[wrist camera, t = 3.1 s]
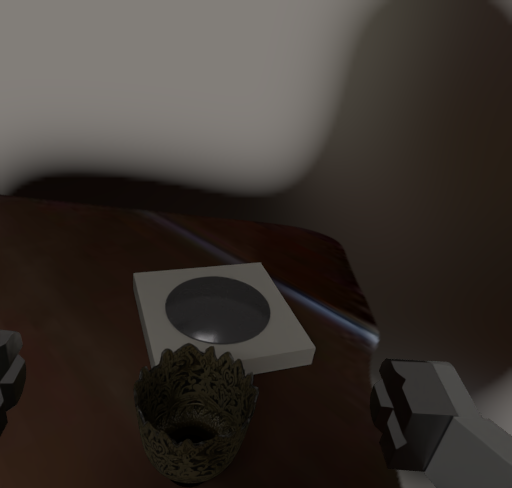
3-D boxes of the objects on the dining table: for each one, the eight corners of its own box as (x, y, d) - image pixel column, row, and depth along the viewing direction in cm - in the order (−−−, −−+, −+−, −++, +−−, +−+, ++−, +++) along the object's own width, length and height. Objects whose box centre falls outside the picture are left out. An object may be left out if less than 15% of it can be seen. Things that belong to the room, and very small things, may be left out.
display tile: (133, 289, 48) (133, 271, 47) (257, 277, 53) (260, 260, 52) (156, 391, 37) (157, 372, 36) (311, 364, 42) (316, 346, 41)
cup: (194, 547, 28) (205, 465, 24) (109, 474, 31) (106, 390, 27) (262, 459, 33) (280, 380, 29) (185, 405, 36) (191, 327, 32)
